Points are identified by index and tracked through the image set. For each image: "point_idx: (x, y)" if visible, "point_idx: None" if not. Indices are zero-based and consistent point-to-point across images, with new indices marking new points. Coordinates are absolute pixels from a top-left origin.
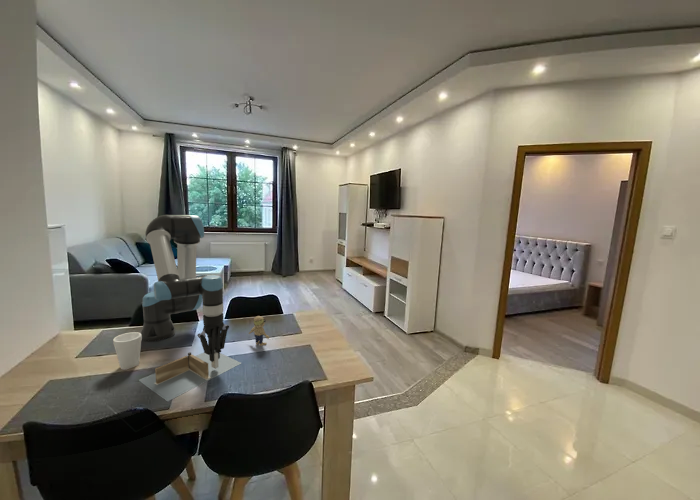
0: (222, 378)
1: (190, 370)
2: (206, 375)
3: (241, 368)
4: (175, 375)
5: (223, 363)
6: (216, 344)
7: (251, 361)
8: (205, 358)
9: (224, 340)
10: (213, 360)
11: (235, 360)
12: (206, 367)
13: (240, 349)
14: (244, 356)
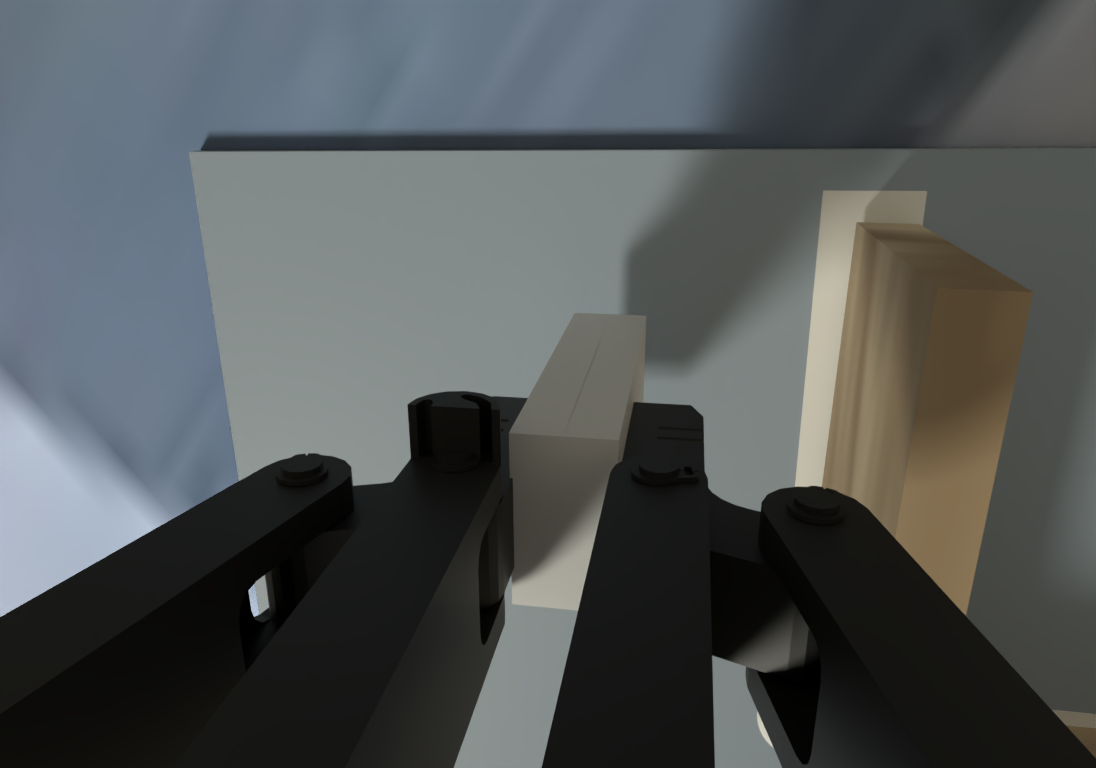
0: (698, 9)
1: None
2: (917, 234)
3: (276, 17)
4: (1093, 732)
5: (406, 413)
6: (440, 652)
7: (35, 77)
8: (502, 753)
9: (86, 600)
10: (650, 409)
11: (220, 325)
12: (965, 270)
13: (7, 551)
14: (51, 327)
